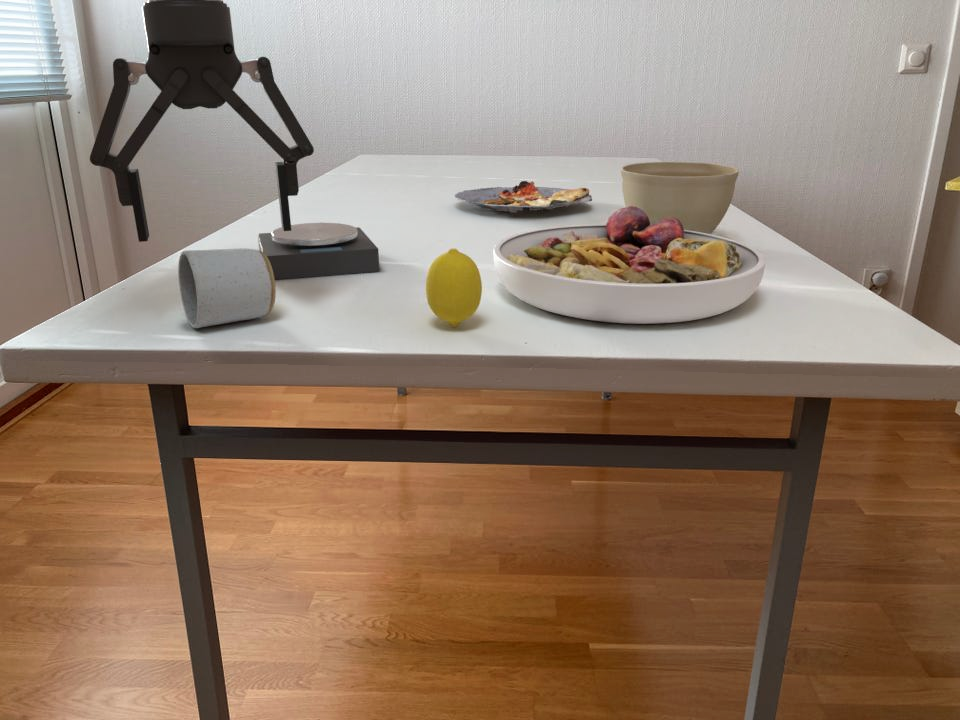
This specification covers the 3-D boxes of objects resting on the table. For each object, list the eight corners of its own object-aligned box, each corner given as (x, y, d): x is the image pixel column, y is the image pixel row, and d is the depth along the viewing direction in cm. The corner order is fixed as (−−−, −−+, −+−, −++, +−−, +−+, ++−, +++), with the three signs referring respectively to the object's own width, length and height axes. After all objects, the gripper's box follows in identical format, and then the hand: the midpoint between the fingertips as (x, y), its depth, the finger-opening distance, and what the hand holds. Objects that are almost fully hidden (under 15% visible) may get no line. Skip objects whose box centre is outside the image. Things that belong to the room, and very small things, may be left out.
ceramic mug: (283, 322, 79) (275, 248, 77) (201, 337, 75) (190, 258, 72) (249, 299, 87) (241, 231, 85) (173, 311, 83) (163, 240, 80)
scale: (265, 280, 95) (263, 255, 94) (259, 255, 107) (257, 232, 106) (379, 271, 99) (378, 247, 98) (360, 248, 111) (359, 226, 110)
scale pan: (275, 248, 95) (274, 242, 95) (269, 231, 105) (268, 225, 105) (364, 242, 98) (363, 236, 98) (350, 226, 108) (350, 220, 108)
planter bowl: (633, 228, 124) (638, 158, 120) (738, 238, 117) (747, 164, 113) (602, 249, 110) (606, 171, 107) (718, 261, 104) (727, 178, 100)
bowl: (783, 342, 74) (795, 261, 71) (472, 325, 78) (472, 248, 76) (739, 266, 101) (746, 205, 98) (511, 257, 106) (511, 199, 103)
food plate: (531, 192, 158) (531, 175, 157) (617, 208, 141) (619, 188, 140) (431, 206, 143) (430, 186, 142) (514, 225, 126) (514, 203, 125)
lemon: (488, 321, 80) (488, 244, 77) (471, 338, 75) (471, 256, 72) (438, 316, 81) (436, 240, 79) (418, 332, 77) (416, 252, 74)
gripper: (320, 4, 77) (336, 218, 85) (40, 2, 70) (86, 235, 78) (330, -2, 70) (347, 231, 78) (21, -5, 63) (74, 251, 71)
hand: (217, 233), depth 78 cm, fingers open, 13 cm apart
